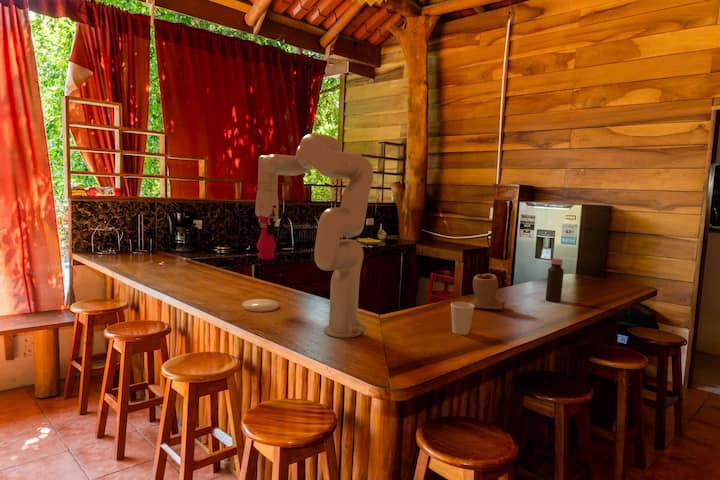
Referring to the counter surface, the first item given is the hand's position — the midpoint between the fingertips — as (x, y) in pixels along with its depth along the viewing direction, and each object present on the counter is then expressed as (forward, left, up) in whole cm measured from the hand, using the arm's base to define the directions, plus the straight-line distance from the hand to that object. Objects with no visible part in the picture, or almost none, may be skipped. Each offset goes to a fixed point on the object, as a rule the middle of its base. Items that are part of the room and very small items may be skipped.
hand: (266, 233), depth 186 cm
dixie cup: (-75, -16, -29) cm, 82 cm away
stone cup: (-74, -57, -30) cm, 98 cm away
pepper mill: (0, 0, -10) cm, 10 cm away
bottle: (-96, -94, -29) cm, 138 cm away
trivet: (+1, +2, -29) cm, 29 cm away
